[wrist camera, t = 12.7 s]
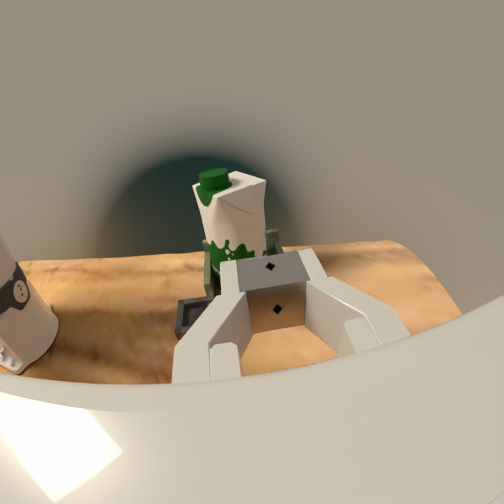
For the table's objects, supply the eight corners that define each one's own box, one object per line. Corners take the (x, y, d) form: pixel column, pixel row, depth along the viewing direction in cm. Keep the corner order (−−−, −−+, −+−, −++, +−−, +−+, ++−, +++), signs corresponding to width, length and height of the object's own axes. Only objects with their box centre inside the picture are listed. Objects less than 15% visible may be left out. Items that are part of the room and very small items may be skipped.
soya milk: (209, 280, 49) (184, 172, 38) (250, 259, 53) (236, 156, 42) (236, 306, 42) (213, 184, 31) (280, 281, 46) (272, 165, 35)
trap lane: (178, 339, 38) (165, 311, 34) (185, 270, 52) (177, 244, 49) (332, 314, 39) (336, 284, 35) (302, 252, 53) (302, 225, 50)
